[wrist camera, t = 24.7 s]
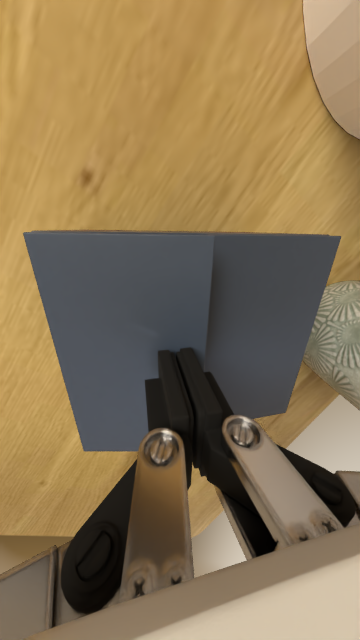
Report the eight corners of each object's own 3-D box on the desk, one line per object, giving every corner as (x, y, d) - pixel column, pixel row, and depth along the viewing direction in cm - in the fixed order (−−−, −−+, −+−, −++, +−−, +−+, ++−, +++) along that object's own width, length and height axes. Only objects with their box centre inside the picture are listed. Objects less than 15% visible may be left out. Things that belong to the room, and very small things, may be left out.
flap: (86, 445, 13) (83, 451, 13) (29, 232, 8) (22, 232, 8) (197, 445, 13) (198, 451, 13) (213, 235, 8) (215, 235, 8)
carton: (103, 359, 22) (83, 452, 13) (81, 229, 17) (21, 230, 8) (230, 345, 25) (286, 413, 16) (245, 232, 20) (343, 235, 11)
